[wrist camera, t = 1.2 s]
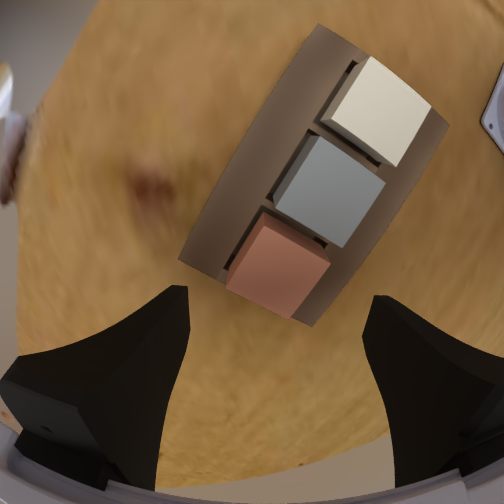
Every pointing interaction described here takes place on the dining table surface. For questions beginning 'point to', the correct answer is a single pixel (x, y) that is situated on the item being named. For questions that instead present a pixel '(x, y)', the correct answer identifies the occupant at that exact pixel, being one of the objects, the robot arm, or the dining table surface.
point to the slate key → (327, 190)
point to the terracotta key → (276, 266)
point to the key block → (281, 159)
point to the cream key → (377, 112)
